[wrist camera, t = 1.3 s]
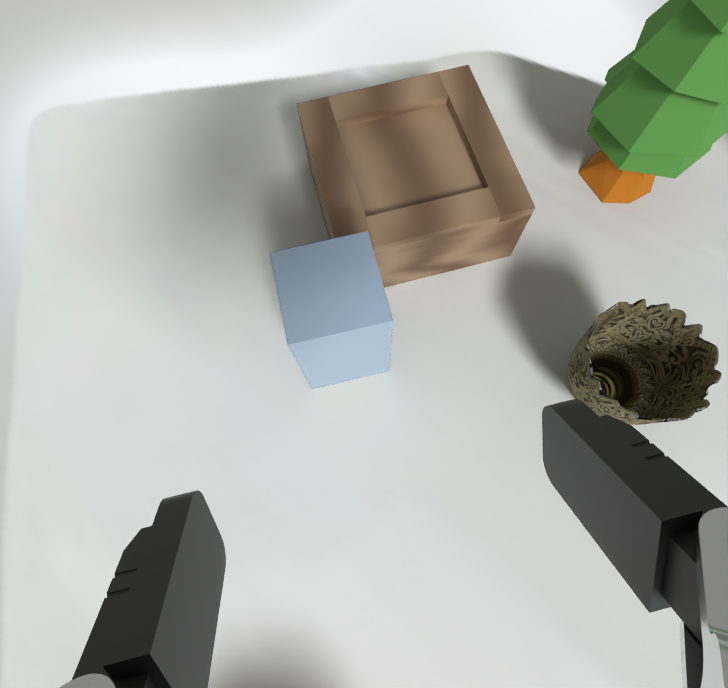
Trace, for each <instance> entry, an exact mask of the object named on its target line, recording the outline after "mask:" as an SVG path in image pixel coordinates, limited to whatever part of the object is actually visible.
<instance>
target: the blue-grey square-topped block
mask: <svg viewBox="0 0 728 688" xmlns="http://www.w3.org/2000/svg"><path fill="white" fill-rule="evenodd" d="M270 256H271V261H272V266H273V272H274V277H275V282H276V287H277V292H278V298H279V303H280V308H281V313H282V318H283V323H284V329H285V334H286V339H287V344H288V347H289V348H290V350H291V352H292V354H293V356H294V357H295V359H296V361H297V363H298V365H299V366H300V368H301V370H302V372H303V374H304V375H305V377H306V379H307V381H308V383H309V384H310V386H311V388H312V389H316V388H320V387H324V386H328V385H332V384H337V383H341V382H345V381H349V380H353V379H358V378H362V377H366V376H370V375H374V374H379V373H383V372H387V371H389V368H390V355H391V343H392V330H393V318H392V314H391V311H390V307H389V304H388V300H387V297H386V293H385V290H384V286H383V282H382V279H381V275H380V272H379V268H378V265H377V261H376V258H375V254H374V251H373V247H372V243H371V240H370V236H369V233H368V231H366V232H361V233H357V234H352V235H348V236H343V237H339V238H334V239H330V240H325V241H321V242H316V243H312V244H307V245H303V246H298V247H294V248H289V249H285V250H280V251H276V252H271V253H270Z"/></svg>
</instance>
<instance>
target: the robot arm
mask: <svg viewBox="0 0 728 688" xmlns="http://www.w3.org/2000/svg"><path fill="white" fill-rule="evenodd" d="M542 429H543V461H544V466H545V470H546V473H547V475H548V477H549V479H550V481H551V483H552V484H553V486H554V487H555V489H556V490H557V491H558V493H559V494H560V495H561V497H562V498H563V499H564V500H565V502H566V503H567V504H568V506H569V507H570V508H571V510H572V511H573V512H574V514H575V515H576V516H577V518H578V519H579V520H580V522H581V523H582V524H583V526H584V527H585V528H586V530H587V531H588V532H589V533H590V535H591V536H592V537H593V539H594V540H595V541H596V543H597V544H598V545H599V547H600V548H601V549H602V551H603V552H604V553H605V555H606V556H607V557H608V559H609V560H610V561H611V563H612V564H613V565H614V566H615V568H616V569H617V570H618V572H619V573H620V574H621V576H622V577H623V578H624V580H625V581H626V582H627V584H628V585H629V586H630V588H631V589H632V590H633V592H634V593H635V594H636V596H637V597H638V598H639V599H640V601H641V602H642V603H643V605H644V606H645V607H646V609H647V610H648V611H649V613H650V612H654V611H657V610H661V609H665V608H668V607H672V609H673V610H674V611H675V612H676V613H677V615H678V616H679V617H680V618H681V624H680V641H681V662H682V682H683V688H728V506H726V505H725V504H724V503H723V502H721V501H720V500H719V499H718V498H717V497H715V496H714V495H713V494H712V493H711V492H710V491H708V490H707V489H706V488H705V487H704V486H702V485H701V484H700V483H699V482H698V481H696V480H695V479H694V478H693V477H692V476H691V475H689V474H688V473H687V472H686V471H685V470H683V469H682V468H681V467H680V466H679V465H678V464H676V463H675V462H674V461H673V460H672V459H670V458H669V457H668V456H667V457H665V455H664V453H663V452H662V451H661V450H660V449H659V448H657V447H656V446H655V445H654V444H653V443H652V444H650V443H649V440H648V439H647V438H645V437H644V436H643V435H642V434H641V433H640V432H638V431H637V430H636V429H635V428H634V427H632V426H631V425H629V424H627V423H625V422H623V421H620V420H618V419H616V418H614V417H612V416H609V415H603V416H598V415H597V414H596V413H595V412H594V411H592V410H591V409H590V408H589V407H588V406H587V405H586V404H585V403H584V402H582V401H581V400H579V399H573V400H569V401H565V402H561V403H557V404H553V405H549V406H545V407H544V409H543V412H542ZM225 566H226V557H225V548H224V543H223V540H222V537H221V535H220V532H219V530H218V528H217V526H216V523H215V521H214V519H213V517H212V514H211V512H210V510H209V508H208V505H207V503H206V501H205V499H204V496H203V495H202V493H201V492H200V491H193V492H189V493H185V494H181V495H177V496H173V497H169V498H165V499H163V500H162V501H161V503H160V505H159V508H158V511H157V513H156V516H155V519H154V522H153V525H152V526H150V527H146V528H142V529H141V530H140V531H139V532H138V533H137V535H136V536H135V537H134V539H133V540H132V541H131V542H130V544H129V545H128V546H127V547H126V549H125V550H124V551H123V554H122V556H121V559H120V561H119V564H118V566H117V569H116V571H115V578H113V579H112V581H111V584H110V586H109V589H108V591H107V598H105V599H104V601H103V604H102V606H101V609H100V611H99V614H98V616H97V619H96V621H95V624H94V626H93V629H92V631H91V634H90V636H89V639H88V641H87V644H86V646H85V649H84V651H83V654H82V656H81V659H80V661H79V664H78V666H77V669H76V671H75V674H74V676H73V678H72V680H71V681H70V682H68V683H66V684H65V685H63V686H62V687H60V688H207V687H208V681H209V674H210V667H211V661H212V654H213V647H214V640H215V634H216V627H217V620H218V614H219V607H220V600H221V593H222V587H223V580H224V573H225Z"/></svg>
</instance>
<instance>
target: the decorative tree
mask: <svg viewBox="0 0 728 688" xmlns="http://www.w3.org/2000/svg"><path fill="white" fill-rule="evenodd" d="M605 81H606V82H607V83H606V85H605V87H604V88H603V90H602V92H601V93H600V95H599V97H598V98H597V100H596V102H595V104H594V107H593V109H592V112H591V113H592V114H593V115H594V116H593V118H592V121H591V123H590V125H589V128H588V130H587V132H588V133H589V135H590V136H591V137H592V138H593V139H594V141H595V142H596V143H597V144H598V145H599V147H600V148H601V149H602V151H600V152H598V153H596V154H595V155H594V156H593V157H592V158H591V159H590V160H589V161H588V162H587V164H586V165H585V166H584V167H583V168H582V169H581V170H580V171H579V172H578V173H579V174H580V175H581V176H582V178H583V179H584V180H585V181H586V183H587V184H588V185H589V186H590V188H591V189H592V190H593V191H594V193H595V194H596V195H597V196H598V198H599V199H600V200H601V201H602V202H608V203H631V202H632V201H634V200H636V199H638V198H640V197H642V196H644V195H645V194H647V193H649V192H651V188H652V185H653V181H654V178H655V175H657V176H664V177H670V178H676V177H677V176H679V175H680V174H681V173H682V172H683V171H685V170H686V169H687V168H688V167H690V166H691V165H692V164H693V163H695V162H696V161H697V160H698V159H700V158H701V157H702V156H703V155H705V154H706V153H707V152H708V151H710V149H711V147H712V144H713V143H714V142H715V141H716V140H718V139H719V138H720V137H721V136H722V135H724V134H725V133H726V132H727V131H728V0H669V1H668V2H667V3H665V4H664V5H663V6H662V7H661V8H659V9H658V10H657V11H656V12H655V13H654V14H652V15H651V16H650V17H649V18H648V19H647V20H646V22H645V25H644V27H643V30H642V33H641V35H640V38H639V40H638V43H637V45H636V48H635V50H634V51H632V52H631V53H630V54H629V55H627V56H626V57H625V58H623V59H622V60H621V61H619V62H618V63H617V64H616V65H614V66H613V67H612V68H610V69H609V71H608V73H607V75H606V78H605Z"/></svg>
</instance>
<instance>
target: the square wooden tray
mask: <svg viewBox="0 0 728 688" xmlns="http://www.w3.org/2000/svg"><path fill="white" fill-rule="evenodd" d="M297 107H298V112H299V117H300V122H301V127H302V132H303V137H304V142H305V147H306V152H307V157H308V162H309V166H310V169H311V173H312V177H313V180H314V184H315V187H316V191H317V195H318V198H319V202H320V205H321V209H322V213H323V216H324V220H325V223H326V227H327V230H328V234H329V238H330V239H334V238H339V237H343V236H348V235H352V234H357V233H361V232H366V231H368V233H369V236H370V240H371V243H372V247H373V251H374V254H375V258H376V261H377V265H378V268H379V272H380V275H381V279H382V282H383V286H384V288H385V287H389V286H393V285H397V284H401V283H405V282H409V281H413V280H417V279H420V278H424V277H428V276H432V275H436V274H440V273H444V272H448V271H452V270H456V269H460V268H464V267H468V266H472V265H476V264H480V263H484V262H488V261H492V260H495V259H499V258H503V257H507V256H510V255H511V253H512V251H513V249H514V247H515V245H516V243H517V241H518V240H519V238H520V236H521V234H522V232H523V230H524V228H525V226H526V224H527V222H528V220H529V218H530V217H531V215H532V213H533V211H534V209H535V206H534V203H533V201H532V199H531V197H530V195H529V193H528V191H527V189H526V186H525V184H524V182H523V180H522V178H521V176H520V174H519V172H518V169H517V167H516V165H515V163H514V161H513V159H512V157H511V155H510V152H509V150H508V148H507V146H506V144H505V142H504V140H503V138H502V135H501V133H500V131H499V129H498V127H497V125H496V123H495V121H494V118H493V116H492V114H491V112H490V110H489V108H488V106H487V104H486V101H485V99H484V97H483V95H482V93H481V91H480V89H479V87H478V84H477V82H476V80H475V78H474V76H473V74H472V72H471V69H470V67H469V65H466V66H461V67H457V68H452V69H448V70H444V71H439V72H435V73H430V74H426V75H421V76H417V77H413V78H408V79H404V80H399V81H395V82H390V83H386V84H382V85H377V86H373V87H368V88H364V89H359V90H355V91H350V92H346V93H342V94H337V95H333V96H328V97H324V98H319V99H315V100H311V101H306V102H302V103H297Z"/></svg>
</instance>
